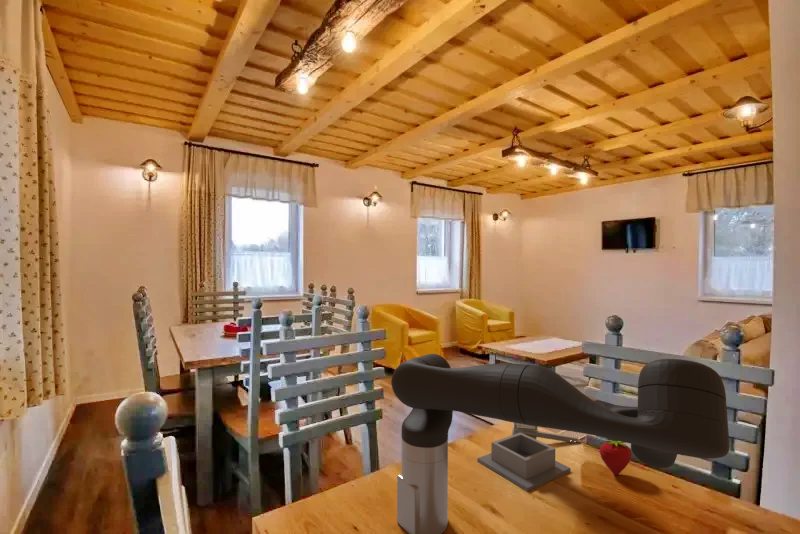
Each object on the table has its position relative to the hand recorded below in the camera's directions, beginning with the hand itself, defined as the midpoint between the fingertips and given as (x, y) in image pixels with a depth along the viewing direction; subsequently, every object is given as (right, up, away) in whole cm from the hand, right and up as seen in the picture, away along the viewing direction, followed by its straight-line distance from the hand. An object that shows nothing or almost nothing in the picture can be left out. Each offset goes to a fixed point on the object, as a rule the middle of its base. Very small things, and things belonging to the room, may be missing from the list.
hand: (518, 390), depth 103 cm
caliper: (+12, -19, +12) cm, 25 cm away
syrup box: (+1, -9, -1) cm, 9 cm away
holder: (+1, -19, -1) cm, 19 cm away
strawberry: (+22, -19, -5) cm, 30 cm away
